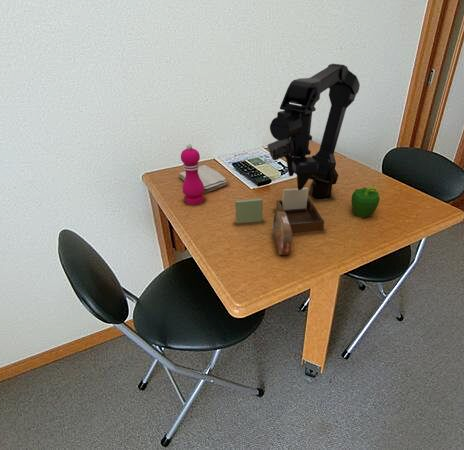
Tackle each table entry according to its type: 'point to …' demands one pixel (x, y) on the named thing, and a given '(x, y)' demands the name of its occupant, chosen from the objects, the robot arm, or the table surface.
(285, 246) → the tin
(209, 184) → the washcloth
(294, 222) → the coaster holder
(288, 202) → the cream coaster
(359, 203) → the bell pepper
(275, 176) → the table surface
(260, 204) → the sage coaster
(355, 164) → the table surface
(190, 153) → the pepper mill
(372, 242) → the table surface
